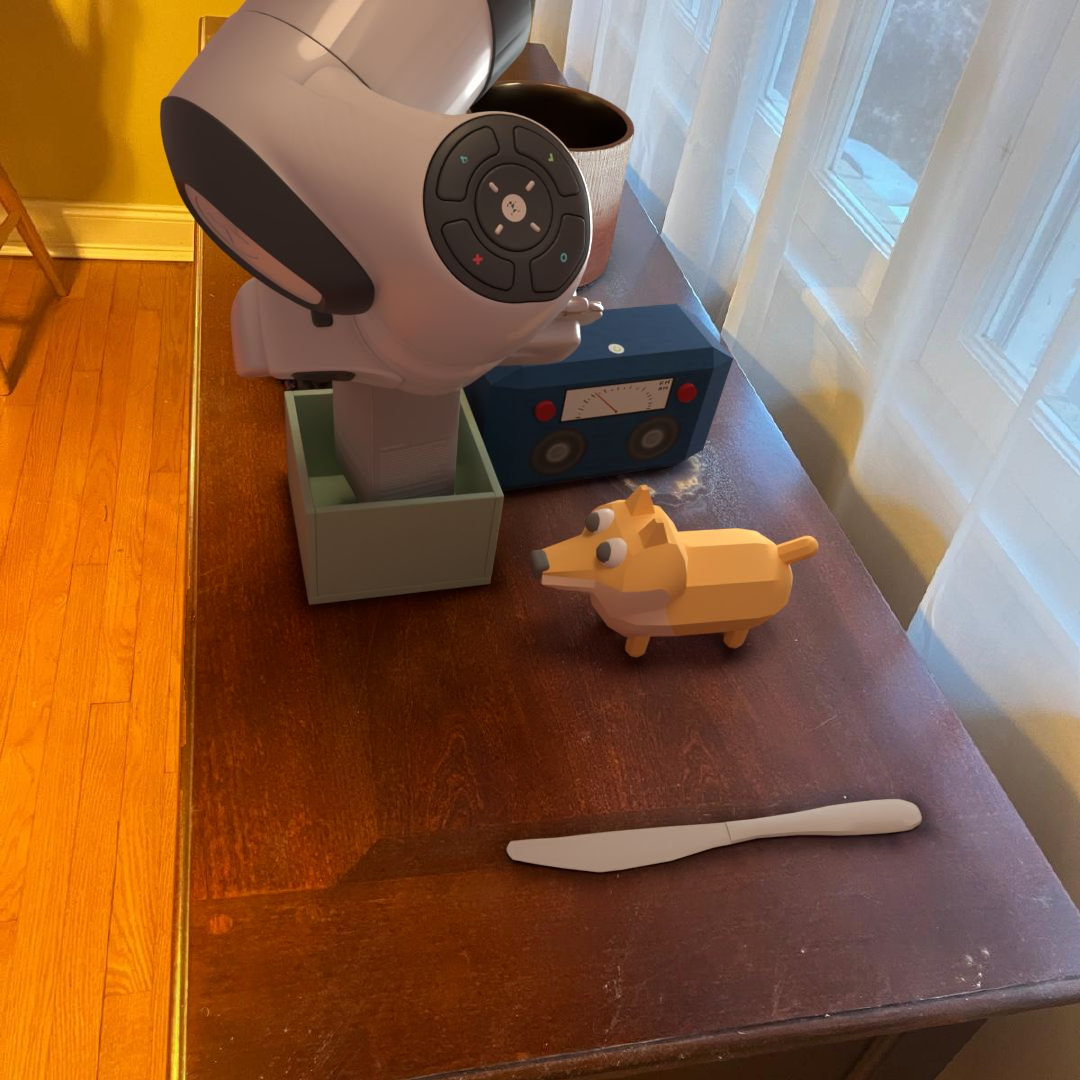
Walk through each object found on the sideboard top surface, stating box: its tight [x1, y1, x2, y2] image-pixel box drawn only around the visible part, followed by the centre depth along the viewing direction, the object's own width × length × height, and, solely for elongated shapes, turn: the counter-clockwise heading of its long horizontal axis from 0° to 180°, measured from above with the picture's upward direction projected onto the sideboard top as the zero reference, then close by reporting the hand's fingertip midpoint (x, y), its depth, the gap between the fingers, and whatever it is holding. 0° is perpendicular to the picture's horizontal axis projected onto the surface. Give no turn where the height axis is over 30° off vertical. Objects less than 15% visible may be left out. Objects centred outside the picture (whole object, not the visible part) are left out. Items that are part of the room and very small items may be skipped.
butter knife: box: [506, 798, 923, 873], centre depth 60 cm, size 1×27×3 cm
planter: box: [465, 79, 635, 289], centre depth 104 cm, size 18×18×16 cm
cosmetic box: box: [332, 381, 461, 503], centre depth 67 cm, size 8×7×16 cm
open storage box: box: [283, 388, 505, 606], centre depth 72 cm, size 13×13×9 cm
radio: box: [463, 303, 734, 492], centre depth 78 cm, size 21×9×20 cm, turn 112°
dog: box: [528, 484, 819, 658], centre depth 67 cm, size 8×20×13 cm, turn 103°
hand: (391, 357), depth 65 cm, fingers open, 8 cm apart
